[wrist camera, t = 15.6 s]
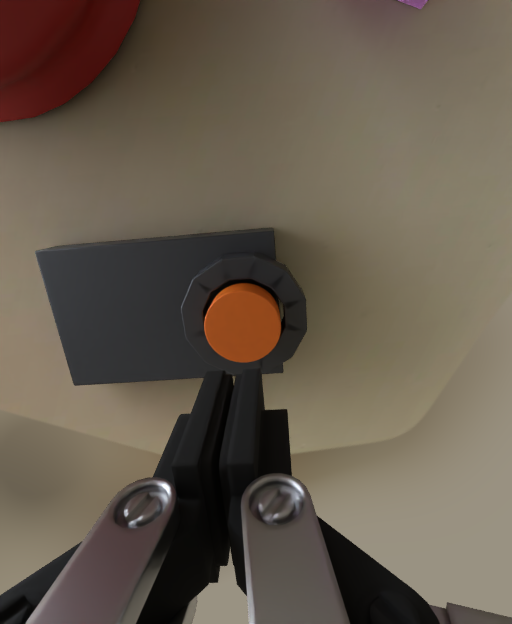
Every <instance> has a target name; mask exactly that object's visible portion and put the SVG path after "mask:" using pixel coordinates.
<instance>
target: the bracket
mask: <svg viewBox="0 0 512 624" xmlns="http://www.w3.org/2000/svg"><path fill="white" fill-rule="evenodd" d="M397 1H400V2H403V3H405V4H408V5H411V6H413V7H416V8H419V9H422V7H423V6H424V5H425V4H426V2H427V1H428V0H397Z"/></svg>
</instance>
